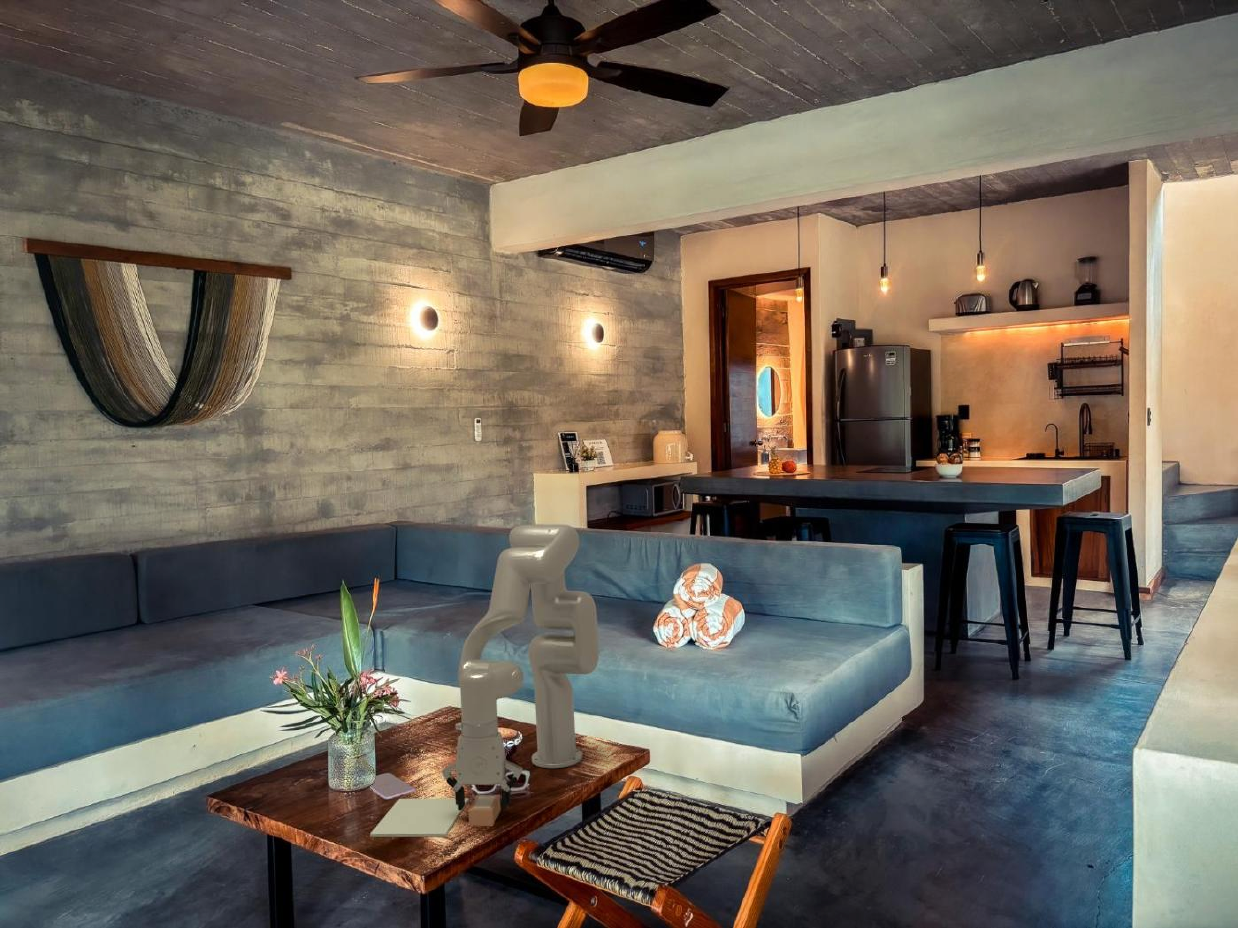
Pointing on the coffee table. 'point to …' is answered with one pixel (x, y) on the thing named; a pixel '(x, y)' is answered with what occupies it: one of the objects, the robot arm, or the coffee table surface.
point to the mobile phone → (390, 786)
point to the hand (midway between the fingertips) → (483, 807)
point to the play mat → (419, 818)
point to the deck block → (484, 810)
